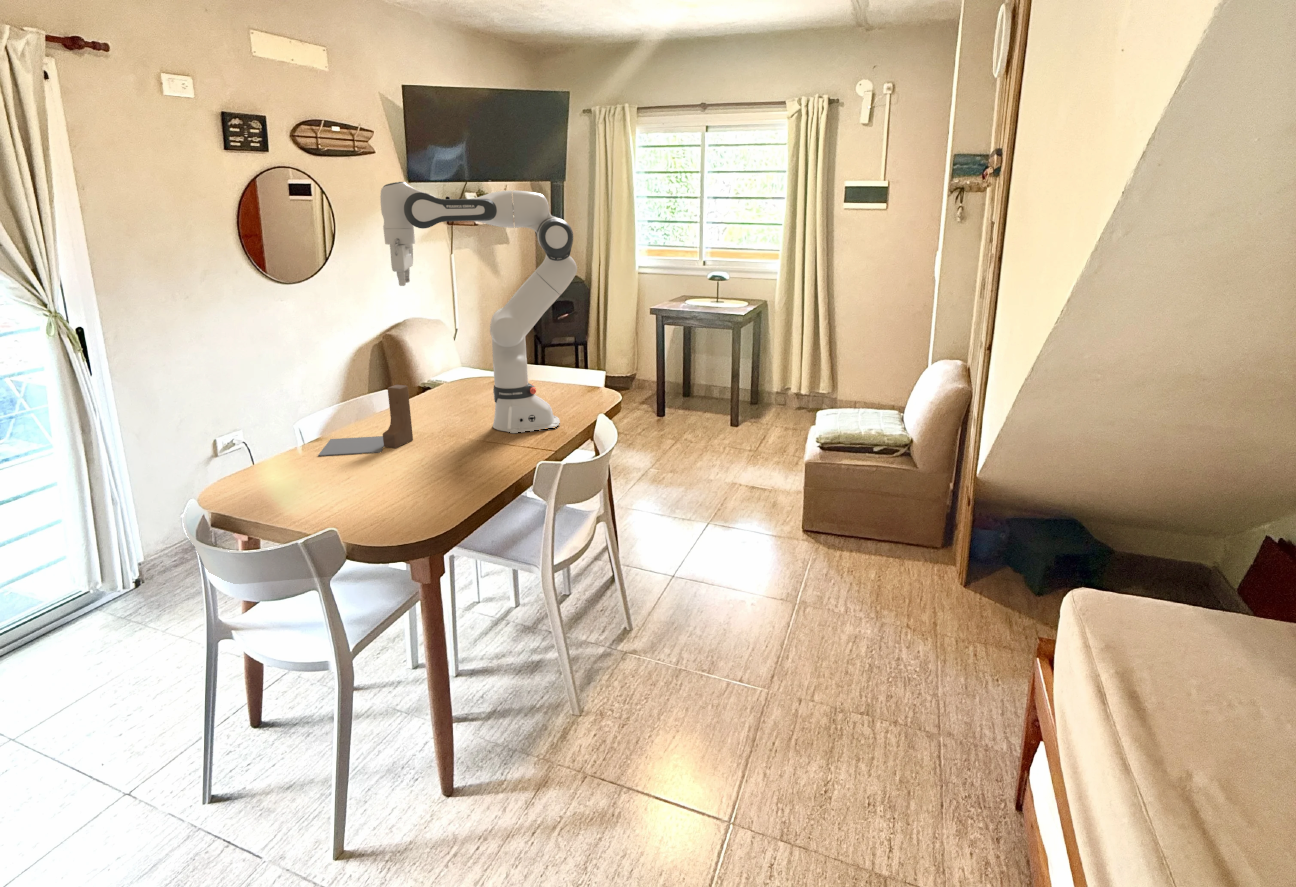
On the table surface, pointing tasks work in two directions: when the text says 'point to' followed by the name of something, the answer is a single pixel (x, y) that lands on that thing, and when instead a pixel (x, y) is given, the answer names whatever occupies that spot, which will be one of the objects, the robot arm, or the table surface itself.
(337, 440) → the mat
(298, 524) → the table surface
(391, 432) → the wooden block
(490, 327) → the robot arm
